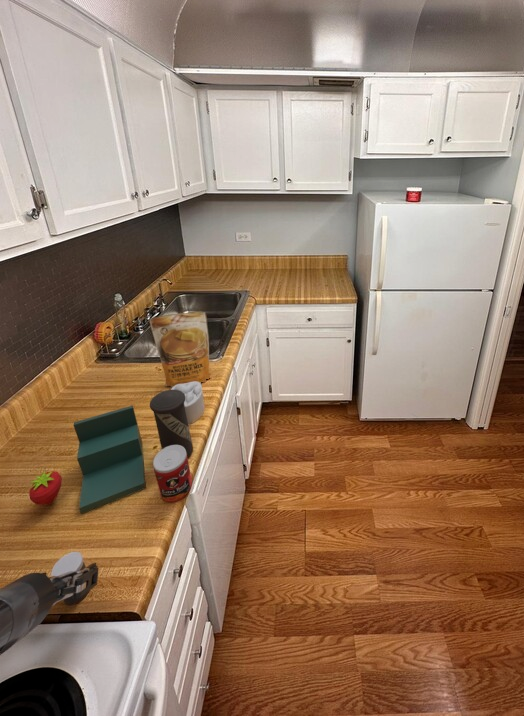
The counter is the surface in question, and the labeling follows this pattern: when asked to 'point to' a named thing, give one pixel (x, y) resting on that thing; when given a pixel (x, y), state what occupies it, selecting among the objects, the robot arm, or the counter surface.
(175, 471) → the canned food
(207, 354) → the pancake mix bag
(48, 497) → the strawberry
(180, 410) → the container
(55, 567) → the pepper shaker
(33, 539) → the counter surface
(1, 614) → the robot arm
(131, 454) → the spice shelf
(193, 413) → the lumpy-topped squat cylinder
